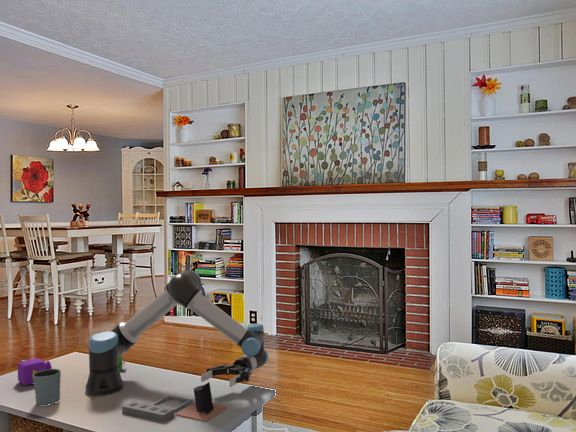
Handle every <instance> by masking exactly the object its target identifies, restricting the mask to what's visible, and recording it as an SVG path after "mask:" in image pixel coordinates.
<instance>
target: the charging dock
mask: <svg viewBox="0 0 576 432" xmlns="http://www.w3.org/2000/svg"><path fill="white" fill-rule="evenodd" d="M169 399H171V400H174V401H180V402H183V403H180V404H179V405H178V406H176V407H174V408H171V407H165V406H163V405H161V406H160V405H159V404H161V403H164V402H166V401H168V400H169ZM193 403H194V400H193V399H191V398H186V397H181V396H176V395H171V394H169V395H168V394H167V395H166V396H164V397H162V398H161V399H158V400H156V401H154V402H152V403H146V402H142V401H137V400H132V401H130V402H128V403H126V404H124V405H122V406H121V413H122V414H125V415H130V416H135V417H140V418H143V419H148V420H153V421H158V422H162V423H164V422H166V421H168V420H170V419H171V418H173V417H174V416H175V413H177V412H179V411H181V410H182V409H184V408H186V407H188V406H189V405H191V404H193Z"/></svg>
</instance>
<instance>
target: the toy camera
mask: <svg viewBox="0 0 576 432" xmlns="http://www.w3.org/2000/svg"><path fill="white" fill-rule="evenodd" d="M47 369H53V368H52V364H51V362H50V360H46V362H45V361H44V360H43V359H41V358H32V359H27V360H26V359H23V360H21V361H19V362H18V363H17V381H18V382H19V383H20V384H22V385H23V386H31V385H34V384H33V383H34V381H33V374H34V373H36V372H38V371H42V370H47ZM30 384H31V385H30Z"/></svg>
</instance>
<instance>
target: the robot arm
mask: <svg viewBox="0 0 576 432" xmlns="http://www.w3.org/2000/svg"><path fill="white" fill-rule="evenodd" d="M202 284H203V283H202V278H201V276H200V274H199V273H198V272H196V271H194V270H183V271H181V272H180V273H177V274H175V275H173V277H171V278H170V280H169V282H168V283H166V284H165V287H164V290H163V291H162V292H161V293H160V294H159V295H157V296H156V297H155V298H154V299H153V300H151V301H150V302H148V304H147V305H146V306H144V307H143V308H142V309H141V310H139V311H137V313H135V314H134V316H132V317H131V318H130V319H129V320H127V321H121V322H120V323H118V325H116V326H115V327H114V328H113V329H111V330H110V331H102V332H101V331H100V332H99V333H95V334H93V335H91V336H90V338H89V340H88V360H89V361H88V362H89V363H88V364H89V366H88V368H89V373H88V378H87V381H86V384H85V387H84V388H85V394H87V395H89V396H107V395H111V394H115V393H117V392H119V391H121V390H122V389H123V388H124V381H123V379H122V376H121V373H120V370H118V357H119V356H123V354H125V353H127V352H128V351H129V350H130V349H131V348H132V347H134V345H135V344H136V343H138V342H139V337H140V336H141V335H142V334H143V333H144V332H146V331H147V330H148V329H150V327H152V326H153V325H154V324H155V323H157V322H158V321H159V320H160V319H161V318H163V317H165V315H166V314H168V313H169V312H170V311H171V310H173V309H174V308H175V307H176V306H177V305H179V306H183V308H185V309H186V310H188V309H189V310H192V311H193V312H194V313H195V314H197V315H198V316H199V317H200V318H202V319H203V320H204V321H205V322H207V324H208V323H209V324H210V325H211V326H212V327H213V328H215V330H218V331H219V332H220V333H221V334H222V335H224V336H225V337H226V338H228V339H229V340H230V341H232V342H233V343H235V345H236V346H238V347H239V348H240V349H241V351H242V353H243V354H244V355H242V356H241V357H239V358H237V359H236V360H234V361H233V363H232V364H230V365H228V364H227V363H224V364H221V365H217V366H213V367H212V366H211V367H209V368H206V372H204V373H202V374H201V375H200V381H201V383H203V382H206V381H208V380H210V379H211V378H213V377H215V376H221V375H225V376H229V375H232V376H233V375H234V377H231V378H230V379H229V387H230V388H233V387H234V386H235V385H237V384H239V383H241V382H244V381H245V382H249V381H250V377H251V375H253V371H256V370H257V369H259V368H261V367H263V366H264V365H265V364H267V362H268V360H269V354H268V352H267V350H266V349H265V334H264V333H265V331H264V324H261V323H250V324H248V325H247V327H244V326H243V325H242V324H241V323H239V322H238V320H236V319H234V318H233V317H231V316H230V315H229V314H228V313H226V312H225V311H224V310H223V309H221V308H220V307H218V306H217V305H216V304H215V303H213V302H212V301H211V300H209V299H208V298H207V296H204V295H203V294H202V291H201V290H202V288H201V287H202Z"/></svg>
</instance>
